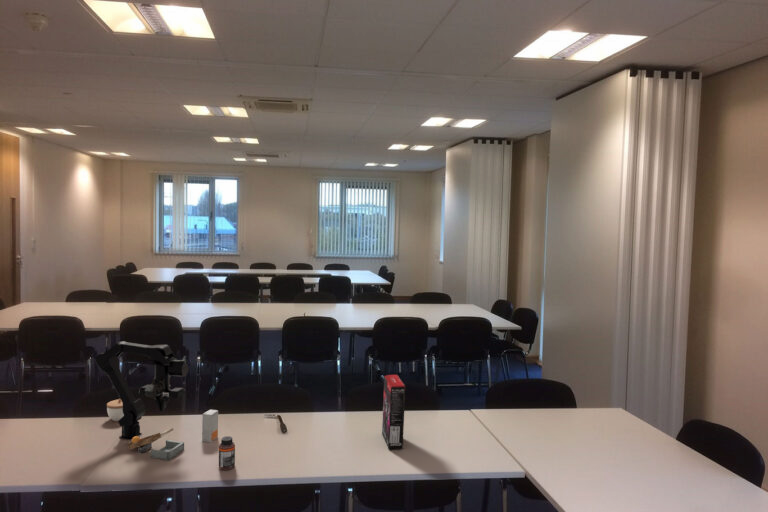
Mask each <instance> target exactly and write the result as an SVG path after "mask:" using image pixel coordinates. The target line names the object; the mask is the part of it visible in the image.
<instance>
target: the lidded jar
mask: <svg viewBox="0 0 768 512" xmlns="http://www.w3.org/2000/svg"><path fill="white" fill-rule="evenodd" d="M106 412H107V415H108V417H109V418H110V419H111V420H112V421H113V422H118V421H119V420H120V419H121V418H122V417H123V416H124V414H123V403H122V401H121V399H120V398H118V399H114V400H111V401H109V402H107V403H106Z"/></svg>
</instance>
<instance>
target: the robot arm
mask: <svg viewBox="0 0 768 512" xmlns="http://www.w3.org/2000/svg"><path fill="white" fill-rule="evenodd" d="M123 353H126V354H131V355H138V356H146V357H148V358H149V359H151V360H152V361H151V362H150V363H149V365H150V366H154V378H152V383H151V384H146V385H144V386H141V387H139V390H138V394H139V395H142V396H146V398H153V399H154V400H155V402H156V404H157V407H158V410H159V411H160V412H165V409H166V407H167V406H168V403H169V401H170V399H179V398H180V397H183V396H185V395H186V389H185V388H184V387H174V388H173V389H171V388H172V385H171V384H170V380H171V379H172V377H186V376H187V375H188V373H189V365H188V363H187V361H186V359H177V357H176V355H175V354H174V352H173V351H172V348H171V347H170V345H168V344H154V345H149V344H141V343H136V342H134V343H133V342H127V341H124V340H123V341H119V342H116V343H114V345H113V346H111V347H110V348H109V349H107V350H106V351H104V352H102V353H99V354H98V355H96V357H95V361H94V362H95V364H96V365H97V367H98V368H99V369H100V370H101V371H102V372H104V373H105V374H107V376H108V378H109V380H110V382H111V384H112V386H113V388H114V389H115V391H116V393H117V396H118V398H119V399H121V401H122V403H123V414H124V416H123V417H122V418H121V419H120V420H119V421H117V422H118V424H119V426H120V427H121V435H120V436H119V437H118V438H119V439H123V440H129V441H130V440H131V441H132V438H133V437H135V436H138V437H140V436H142V435H143V434H142V432H141V425H140V420H142V417H143V416H144V415H145V413H146V405H145V404H144V402H143V399H142V398H136V397H135V396H134V394H133V393H132V391H131V389H130V386H129V385H128V382H127V381H126V379H125V377H124V375H123V373H122V372H121V370H120V360H119V356H121V355H122V354H123Z"/></svg>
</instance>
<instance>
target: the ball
mask: <svg viewBox="0 0 768 512" xmlns="http://www.w3.org/2000/svg"><path fill="white" fill-rule="evenodd" d="M140 439H141V438H140V436H135V437H133V438H132V440H131V442H132V443H135V442H138V441H140Z"/></svg>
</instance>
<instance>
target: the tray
mask: <svg viewBox="0 0 768 512" xmlns="http://www.w3.org/2000/svg"><path fill="white" fill-rule="evenodd" d="M184 450H185V442H184V441H177V440H170V439H169V440H168V439H166V440H165V446H163V447H162V448H160V449H155V448H154V449H153V448H151V449H150V458H152V459H159V460H166V461H170V460H171V459H173V458H174V457H176V456H177V455H179V454H180V453H181V452H183V451H184Z"/></svg>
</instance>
